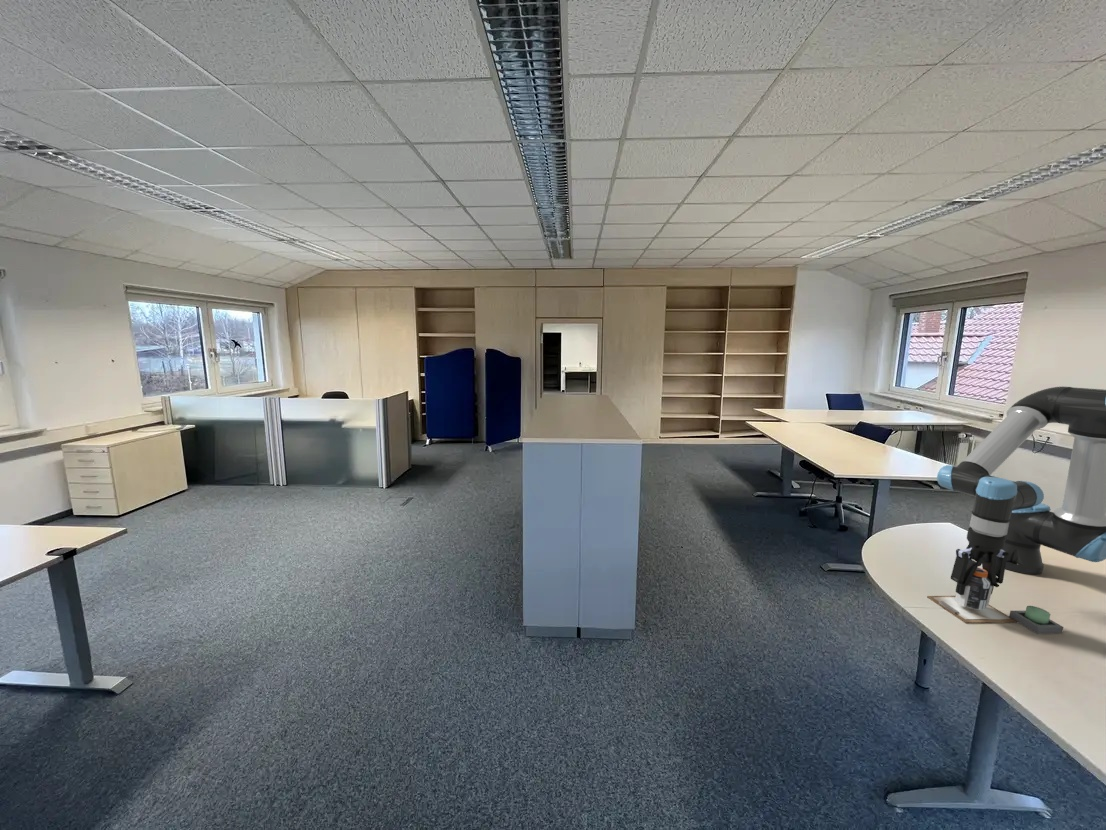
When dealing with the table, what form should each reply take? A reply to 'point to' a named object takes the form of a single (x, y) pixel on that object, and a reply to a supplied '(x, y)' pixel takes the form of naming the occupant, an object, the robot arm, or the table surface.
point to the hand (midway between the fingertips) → (971, 603)
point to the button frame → (1039, 629)
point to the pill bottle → (978, 590)
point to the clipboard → (971, 611)
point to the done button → (1037, 615)
